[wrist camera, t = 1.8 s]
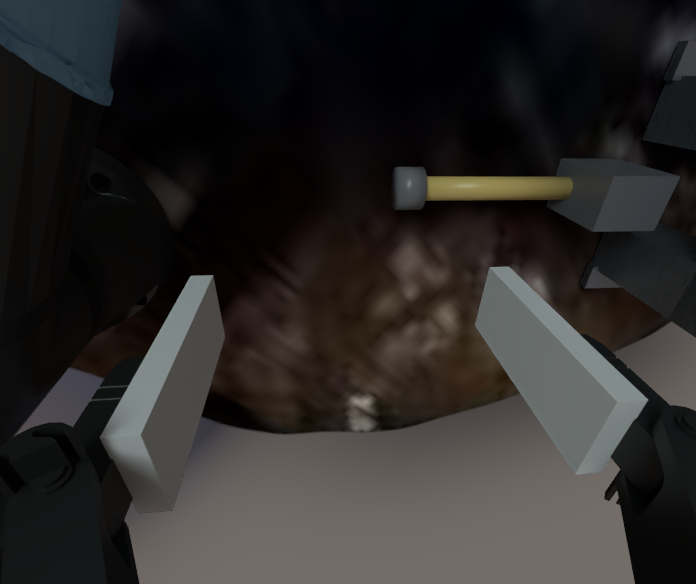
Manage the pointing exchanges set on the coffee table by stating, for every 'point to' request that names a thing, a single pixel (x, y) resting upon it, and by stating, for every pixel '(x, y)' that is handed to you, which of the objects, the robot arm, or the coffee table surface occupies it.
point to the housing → (664, 242)
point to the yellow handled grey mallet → (556, 192)
